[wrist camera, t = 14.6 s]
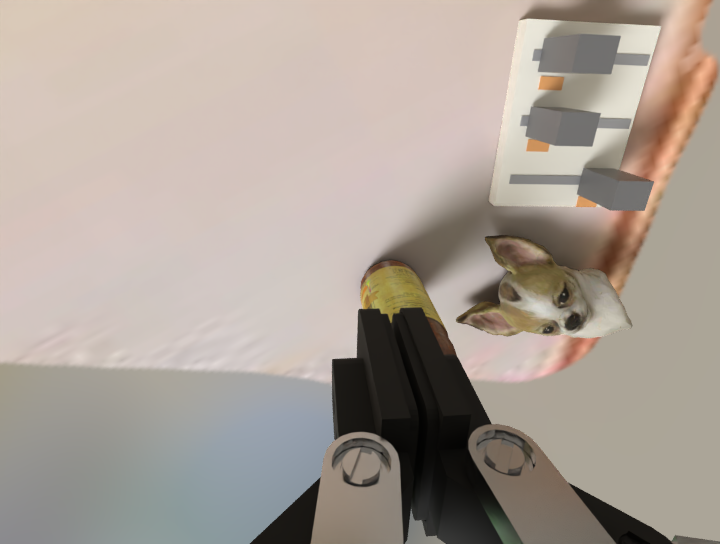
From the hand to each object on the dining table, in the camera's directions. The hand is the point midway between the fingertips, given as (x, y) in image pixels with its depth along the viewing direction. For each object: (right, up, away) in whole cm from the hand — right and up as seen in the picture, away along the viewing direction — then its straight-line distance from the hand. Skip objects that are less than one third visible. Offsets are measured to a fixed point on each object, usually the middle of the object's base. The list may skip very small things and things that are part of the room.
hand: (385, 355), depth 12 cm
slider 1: (+15, +20, +23) cm, 34 cm away
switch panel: (+17, +16, +27) cm, 36 cm away
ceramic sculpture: (+17, +1, +34) cm, 38 cm away
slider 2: (+15, +15, +25) cm, 33 cm away
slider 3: (+21, +11, +28) cm, 36 cm away
